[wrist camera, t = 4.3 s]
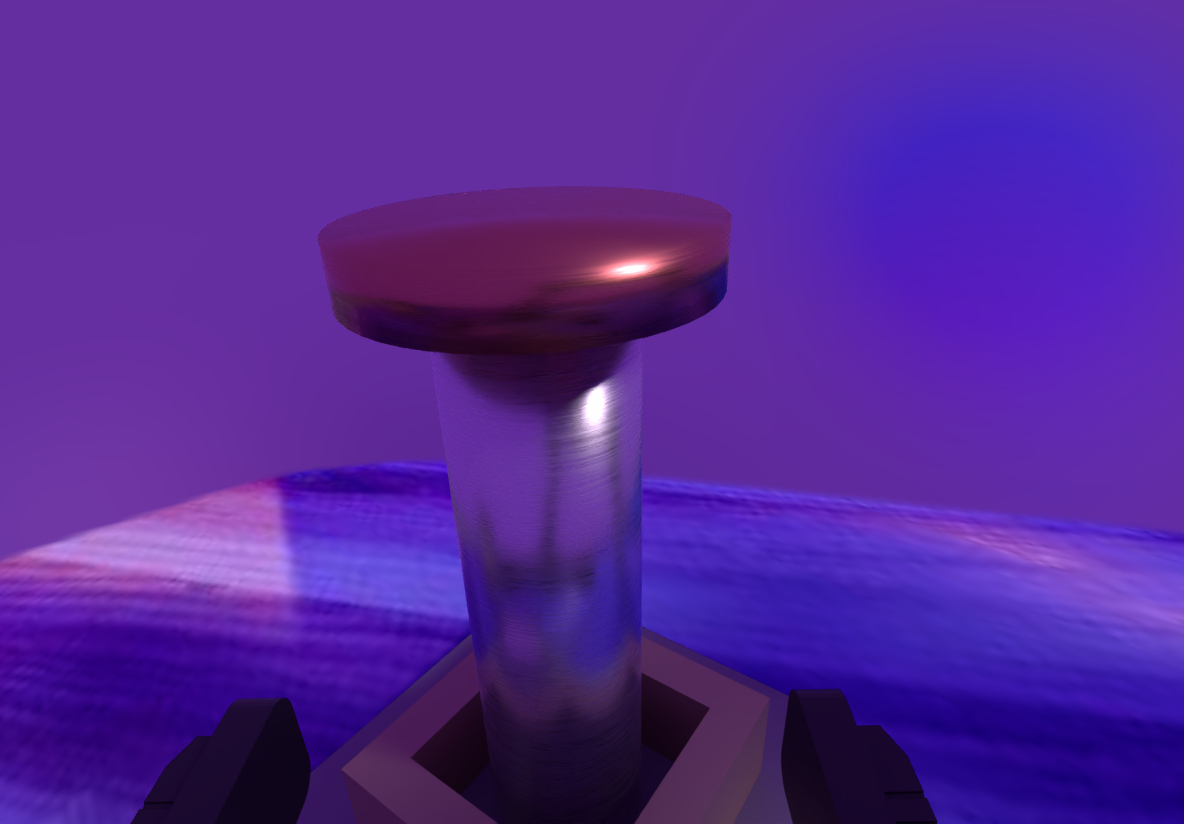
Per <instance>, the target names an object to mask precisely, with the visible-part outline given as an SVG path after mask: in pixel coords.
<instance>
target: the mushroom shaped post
mask: <svg viewBox="0 0 1184 824" xmlns="http://www.w3.org/2000/svg"><path fill="white" fill-rule="evenodd" d="M730 231H731V214H730V213H729V212H728V211H727V209H725V208H723V207H722V206H720V205H718V204H716V203H713V202H711V201H708V200H704V199H701V198H698V197H693V196H688V195H683V194H677V193H671V192H664V191H656V190H644V189H634V188H617V187H579V186H577V187H576V186H575V187H530V188H510V189H497V190H496V189H495V190H483V191H472V192H463V193H454V194H446V195H439V196H432V197H425V198H418V199H412V200H407V201H401V202H397V203H391V204H387V205H382V206H378V207H374V208H371V209H367V210H363V211H360V212H357V213H354V214H350V215H348V216H345V217H343V218H340V219H338V220H336V221H334V222H332V223H330V224H329V225H327V226H326V227H324V228H323V229H322V230H321V231H320V233H319V234H318V242H319V247H320V251H321V256H322V261H323V266H324V271H325V275H326V280H327V285H328V290H329V295H330V300H331V304H332V309H333V314H334V315H335V317H336V319H337V320H338V322H339V323H341V324H342V325H343V326H344V327H346V328H347V329H348V330H350V331H352V332H354V333H356V334H358V335H360V336H362V337H365V338H368V339H371V340H374V341H377V342H380V343H385V344H389V345H393V346H398V347H402V348H409V349H415V350H422V351H429V352H430V354H431V361H432V367H433V375H434V381H435V388H436V395H437V402H438V409H439V416H440V422H441V429H442V436H443V443H444V449H445V457H446V464H447V470H448V477H449V484H450V491H451V498H452V505H453V512H454V518H455V525H456V532H457V539H458V546H459V553H460V559H461V566H462V573H463V580H464V587H465V594H466V600H467V607H468V614H469V621H470V628H471V635H472V641H473V648H474V655H475V662H476V669H477V676H478V682H479V689H480V696H481V703H482V710H483V717H484V724H485V730H486V737H487V744H488V751H489V758H490V765H491V771H492V778H493V785H494V792H495V799H496V806H497V812H498V819H499V824H634V823H635V822H636V820H637V819H638V817H639V816H640V814H641V637H642V338H645V337H648V336H652V335H655V334H659V333H662V332H666V331H669V330H672V329H674V328H677V327H679V326H682V325H685V324H687V323H690V322H692V321H694V320H696V319H698V318H700V317H702V316H703V315H705V314H707V313H708V312H710V311H711V310H712V309H714V308H715V307H717V305H718V304H719V303H720V302H721V301H722V300H723V298H724V296H725V294H726V292H727V282H728V264H729V248H730Z"/></svg>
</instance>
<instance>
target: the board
mask: <svg viewBox="0 0 1184 824" xmlns="http://www.w3.org/2000/svg"><path fill="white" fill-rule="evenodd" d="M788 699H789V696H788V695H786V694H784V693H782V692H780V691H777V690H775V689H773V688H771V687H769V686H767V685H765V684H763V683H760V682H758V681H756V680H754V679H752V678H750V677H748V676H746V675H744V674H741V673H739V672H737V671H735V670H733V669H731V668H729V667H727V666H724V665H722V664H720V663H718V662H716V661H714V660H712V659H710V658H708V657H705V656H703V655H701V654H699V653H697V652H695V651H693V650H691V649H689V648H686V647H684V646H682V645H680V644H678V643H676V642H674V641H672V640H669V639H667V638H665V637H663V636H661V635H659V634H657V633H655V632H653V631H650V630H648V629H646V628H644V627H642V637H641V814H640V816H639V817H638V819H637V820H636V822H635V823H634V824H793V822H792V818H791V815H790V811H789V807H788V803H787V799H786V795H785V791H784V786H783V779H782V770H781V749H782V742H783V735H784V728H785V720H786V713H787V706H788ZM296 824H499V819H498V812H497V806H496V799H495V792H494V785H493V778H492V771H491V765H490V758H489V751H488V744H487V737H486V730H485V724H484V717H483V710H482V703H481V696H480V689H479V682H478V676H477V669H476V662H475V655H474V648H473V641H472V635H471V634H470V635H469V636H468V637H467V638H466V639H464V640H463V641H462V642H461V643H460V644H459V645H458V646H456V647H455V648H454V649H453V650H452V651H451V652H449V653H448V654H447V655H446V656H445V657H444V658H443V659H441V660H440V661H439V662H438V663H437V664H436V665H434V666H433V667H432V668H431V669H430V670H429V671H428V672H426V673H425V674H424V675H423V676H422V677H421V678H420V679H418V680H417V681H416V682H415V683H414V684H413V685H411V686H410V687H409V688H408V689H407V690H406V691H405V692H403V693H402V694H401V695H400V696H399V697H398V698H396V699H395V700H394V701H393V702H392V703H391V704H390V705H388V706H387V707H386V708H385V709H384V710H383V711H382V712H380V713H379V714H378V715H377V716H376V717H375V718H373V719H372V720H371V721H370V722H369V723H368V724H367V725H365V726H364V727H363V728H362V729H361V730H360V731H358V732H357V733H356V734H355V735H354V736H353V737H352V738H350V739H349V740H348V741H347V742H346V743H345V744H344V745H342V746H341V747H340V748H339V749H338V750H337V751H335V752H334V753H333V754H332V755H331V756H330V757H329V758H327V759H326V760H325V761H324V762H323V763H322V764H320V765H319V766H318V767H317V768H316V769H315V770H314V771H312V772H311V773H310V783H309V789H308V793H307V797H306V800H305V803H304V806H303V808H302V811H301V813H300V816H299V818H298V821H297V823H296Z"/></svg>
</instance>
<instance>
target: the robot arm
mask: <svg viewBox="0 0 1184 824" xmlns="http://www.w3.org/2000/svg"><path fill="white" fill-rule="evenodd" d="M781 770H782V779H783V786H784V791H785V795H786V799H787V803H788V807H789V811H790V815H791V818H792V822H793V824H937V820H936V818H935V815H934V813H933V811H932V809H931V807H930V804H929V802H928V800H927V798H925V797H924V794H923V789H922V787H921V785H920V782H919V780H918V778H917V776H916V774H915V771H914V769H913V767H912V765H911V763H910V760H909V758H908V756H907V755H906V754H905V753H904V751H903V750H902V749H901V748H900V747H899V746H898V745H897V744H896V743H895V742H894V740H893V739H892V738H891V737H890V736H889V735H888V734H887V733H886V732H885V731H884V729H883V728H882V727H881V726H880V725H872V726H857V725H856V722H855V720H854V717H853V715H852V712H851V710H850V707H849V705H848V702H847V700H846V698H845V696H844V694H843V693H842V691H841V690H839V689H804V690H791V691H790V694H789V699H788V706H787V713H786V720H785V728H784V735H783V742H782V749H781ZM310 771H311V769H310V759H309V755H308V752H307V749H306V746H305V743H304V740H303V737H302V734H301V731H300V728H299V725H298V722H297V719H296V716H295V713H294V710H293V707H292V704H291V702H290V701H289V700H288V699H287V698H253V699H238V700H236V701H234V702H233V703H232V704H231V705H230V707H229V708H228V710H227V711H226V713H225V714H224V716H223V718H222V720H221V721H220V723H219V725H218V727H217V728H216V730H215V732H214V734H213V735H212V736H197V737H196V738H195V739H194V740H193V741H192V742H191V743H190V744H189V745H188V746H187V747H186V748H185V749H184V750H183V751H181V752H180V753H179V754H178V755H177V756H176V757H175V758H174V759H173V760H172V761H171V762H170V763H169V764H168V765H167V766H166V767H165V769H164V770H163V772H162V773H161V775H160V777H159V778H158V780H157V782H156V783H155V785H154V786H153V788H152V790H151V791H150V793H149V795H148V796H147V798H146V799H145V801H144V807H143V809H139V811H138V812H137V814H136V816H135V817H134V819H133V821H132V822H131V824H296V823H297V821H298V818H299V816H300V813H301V811H302V808H303V806H304V803H305V800H306V797H307V793H308V789H309V783H310Z"/></svg>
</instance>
